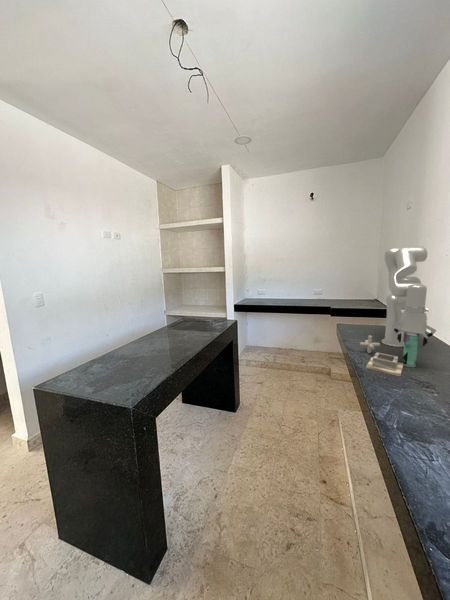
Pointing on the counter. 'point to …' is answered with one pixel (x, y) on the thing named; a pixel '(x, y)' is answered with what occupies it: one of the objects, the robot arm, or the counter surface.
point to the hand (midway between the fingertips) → (411, 343)
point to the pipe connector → (369, 344)
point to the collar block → (385, 364)
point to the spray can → (410, 349)
